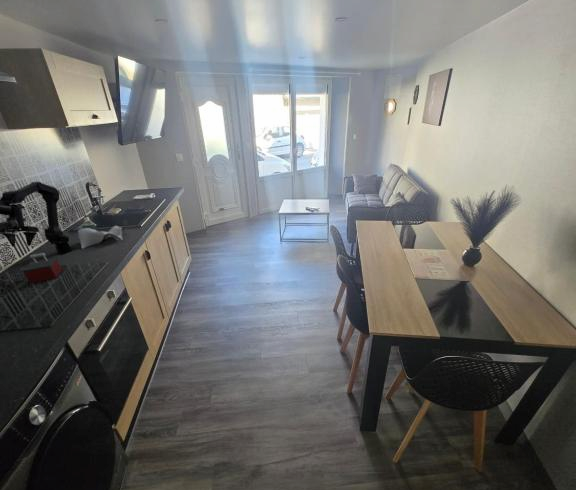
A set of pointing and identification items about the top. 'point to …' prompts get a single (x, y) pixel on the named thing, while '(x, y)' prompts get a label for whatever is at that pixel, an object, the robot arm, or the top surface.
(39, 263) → the lid
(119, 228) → the grey crumpled fabric piece
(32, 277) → the red box
